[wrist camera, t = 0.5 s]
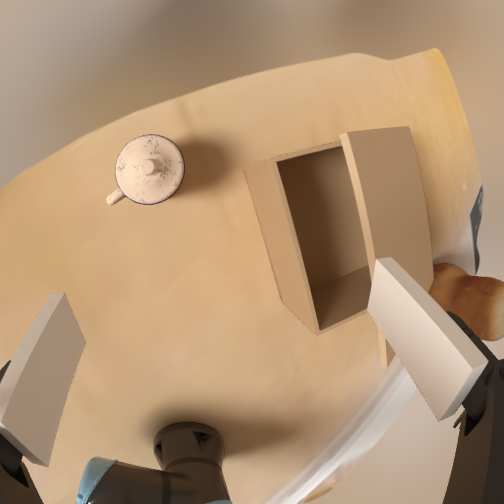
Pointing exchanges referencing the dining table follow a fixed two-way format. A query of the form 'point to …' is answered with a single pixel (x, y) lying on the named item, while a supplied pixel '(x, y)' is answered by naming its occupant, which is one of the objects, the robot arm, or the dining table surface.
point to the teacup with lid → (148, 170)
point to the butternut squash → (470, 299)
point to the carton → (313, 234)
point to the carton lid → (390, 205)
